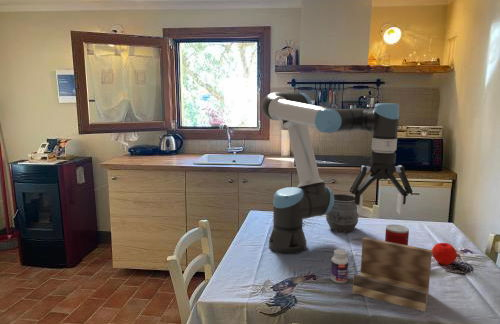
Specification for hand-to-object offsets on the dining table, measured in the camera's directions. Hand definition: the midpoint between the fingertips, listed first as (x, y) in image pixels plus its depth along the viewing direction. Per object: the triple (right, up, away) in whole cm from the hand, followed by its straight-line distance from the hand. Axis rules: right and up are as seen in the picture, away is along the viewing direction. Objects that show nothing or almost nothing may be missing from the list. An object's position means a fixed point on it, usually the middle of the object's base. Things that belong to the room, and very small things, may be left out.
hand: (379, 213), depth 119 cm
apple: (+27, -19, +9) cm, 34 cm away
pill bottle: (-14, -21, -2) cm, 26 cm away
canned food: (+12, -18, +16) cm, 27 cm away
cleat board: (0, -23, -11) cm, 25 cm away
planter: (-1, -14, +44) cm, 46 cm away
